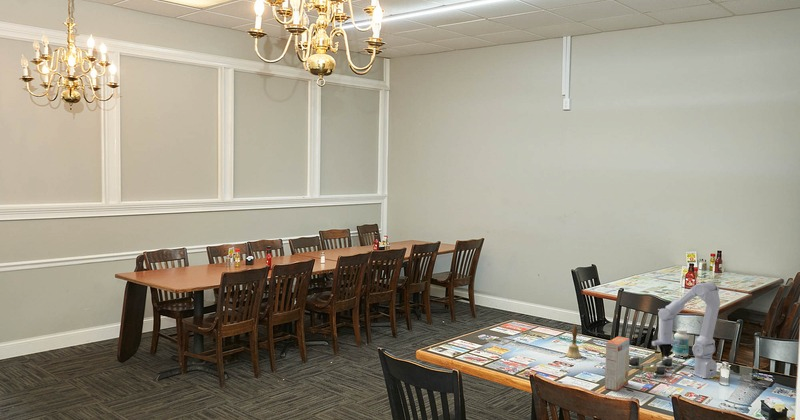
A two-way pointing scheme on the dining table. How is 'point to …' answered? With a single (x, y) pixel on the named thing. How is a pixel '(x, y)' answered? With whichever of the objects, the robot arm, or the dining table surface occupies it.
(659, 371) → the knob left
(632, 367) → the levelling base
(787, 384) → the dining table surface
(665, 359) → the knob
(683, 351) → the pill bottle
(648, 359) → the dining table surface
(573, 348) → the hand bell
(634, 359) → the knob
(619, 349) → the cracker box
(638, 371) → the dining table surface
